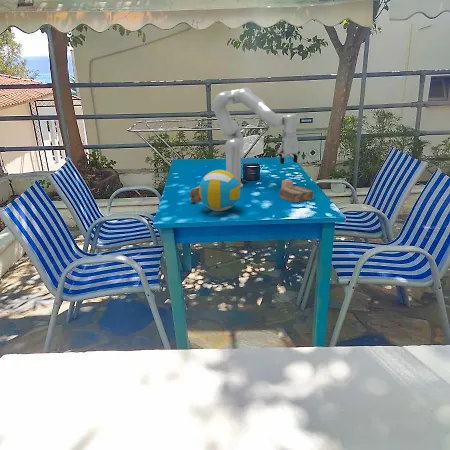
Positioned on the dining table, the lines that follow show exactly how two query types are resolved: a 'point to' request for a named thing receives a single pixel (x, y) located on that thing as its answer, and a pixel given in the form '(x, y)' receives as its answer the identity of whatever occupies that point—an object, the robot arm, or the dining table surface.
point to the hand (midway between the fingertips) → (288, 163)
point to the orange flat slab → (195, 195)
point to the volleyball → (219, 190)
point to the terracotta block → (287, 183)
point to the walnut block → (296, 194)
